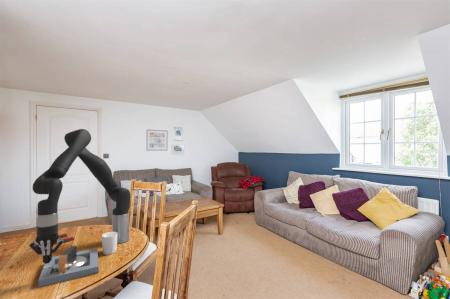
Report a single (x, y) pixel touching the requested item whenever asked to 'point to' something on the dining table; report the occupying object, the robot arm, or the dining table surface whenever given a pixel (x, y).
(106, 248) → the white cup
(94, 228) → the dining table surface
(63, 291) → the dining table surface
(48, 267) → the housing
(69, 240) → the pliers
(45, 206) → the robot arm
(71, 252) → the dial
